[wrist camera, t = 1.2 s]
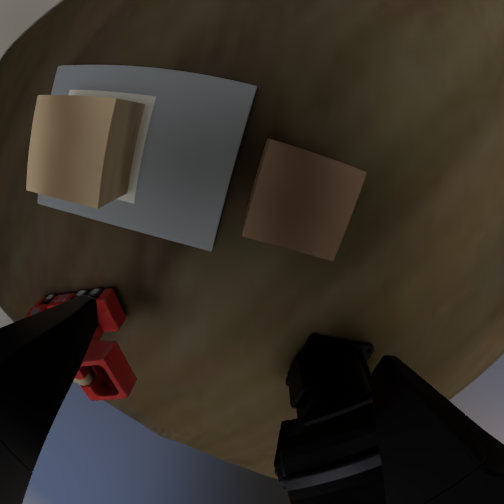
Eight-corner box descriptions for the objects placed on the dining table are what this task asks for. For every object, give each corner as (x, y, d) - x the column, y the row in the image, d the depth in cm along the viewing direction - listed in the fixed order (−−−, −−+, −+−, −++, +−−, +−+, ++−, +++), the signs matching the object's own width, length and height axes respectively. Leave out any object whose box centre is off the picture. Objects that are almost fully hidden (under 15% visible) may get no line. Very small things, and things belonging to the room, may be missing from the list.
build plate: (257, 88, 16) (256, 86, 15) (213, 245, 20) (211, 251, 19) (65, 67, 14) (58, 65, 13) (44, 200, 18) (37, 203, 18)
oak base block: (145, 104, 15) (116, 98, 11) (127, 193, 17) (97, 208, 14) (73, 97, 15) (38, 95, 11) (60, 177, 17) (26, 190, 13)
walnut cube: (339, 162, 17) (366, 172, 13) (316, 230, 19) (333, 261, 15) (266, 138, 17) (270, 138, 12) (245, 210, 19) (241, 236, 14)
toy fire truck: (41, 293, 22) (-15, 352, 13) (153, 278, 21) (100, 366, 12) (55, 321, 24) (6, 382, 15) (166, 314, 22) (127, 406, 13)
